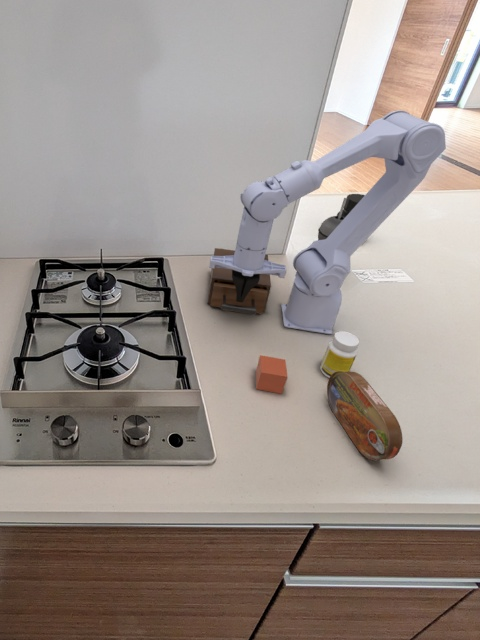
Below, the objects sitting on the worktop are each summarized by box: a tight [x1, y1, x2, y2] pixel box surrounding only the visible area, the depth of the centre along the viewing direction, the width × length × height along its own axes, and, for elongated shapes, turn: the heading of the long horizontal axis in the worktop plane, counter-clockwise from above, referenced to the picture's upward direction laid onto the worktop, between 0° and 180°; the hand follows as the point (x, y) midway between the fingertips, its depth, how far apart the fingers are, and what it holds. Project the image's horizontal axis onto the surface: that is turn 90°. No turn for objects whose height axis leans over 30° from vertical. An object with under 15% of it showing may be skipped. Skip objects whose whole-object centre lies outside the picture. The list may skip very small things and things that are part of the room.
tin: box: [326, 371, 403, 462], centre depth 69 cm, size 15×3×8 cm, turn 5°
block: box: [255, 354, 288, 395], centre depth 79 cm, size 4×4×4 cm
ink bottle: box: [336, 193, 366, 218], centre depth 123 cm, size 10×9×12 cm
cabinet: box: [207, 247, 272, 314], centre depth 102 cm, size 13×12×7 cm
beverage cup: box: [317, 197, 347, 240], centre depth 105 cm, size 7×7×20 cm
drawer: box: [209, 281, 268, 316], centre depth 99 cm, size 17×11×6 cm, turn 165°
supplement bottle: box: [319, 330, 360, 379], centre depth 80 cm, size 5×5×8 cm
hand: (239, 299), depth 92 cm, fingers closed
